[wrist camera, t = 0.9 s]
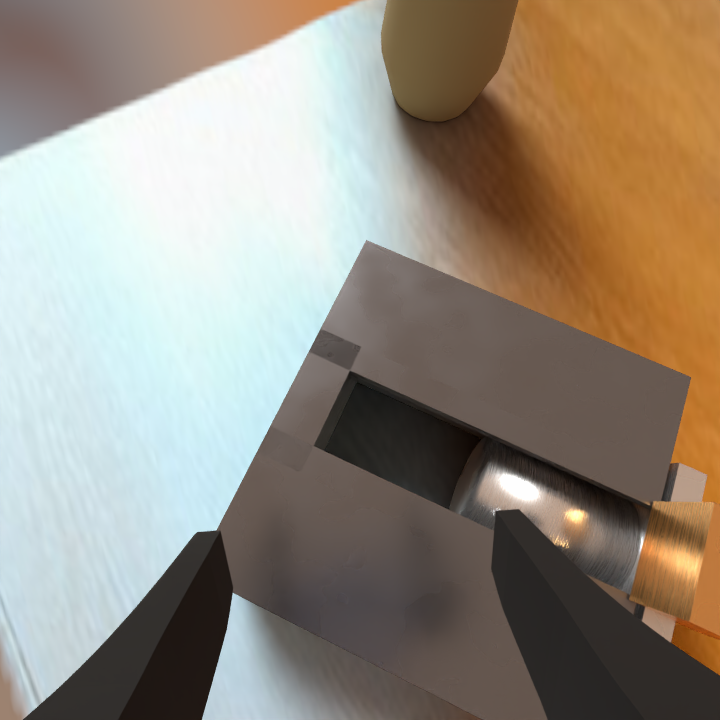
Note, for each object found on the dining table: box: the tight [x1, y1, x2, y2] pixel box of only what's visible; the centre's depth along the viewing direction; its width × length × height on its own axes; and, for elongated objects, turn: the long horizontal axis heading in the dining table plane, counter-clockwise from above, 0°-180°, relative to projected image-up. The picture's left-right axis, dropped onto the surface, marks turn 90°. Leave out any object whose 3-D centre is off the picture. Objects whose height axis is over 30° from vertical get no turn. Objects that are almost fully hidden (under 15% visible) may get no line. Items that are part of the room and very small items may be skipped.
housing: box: [217, 240, 691, 720], centre depth 22 cm, size 16×16×6 cm
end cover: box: [449, 436, 720, 642], centre depth 20 cm, size 9×8×9 cm
